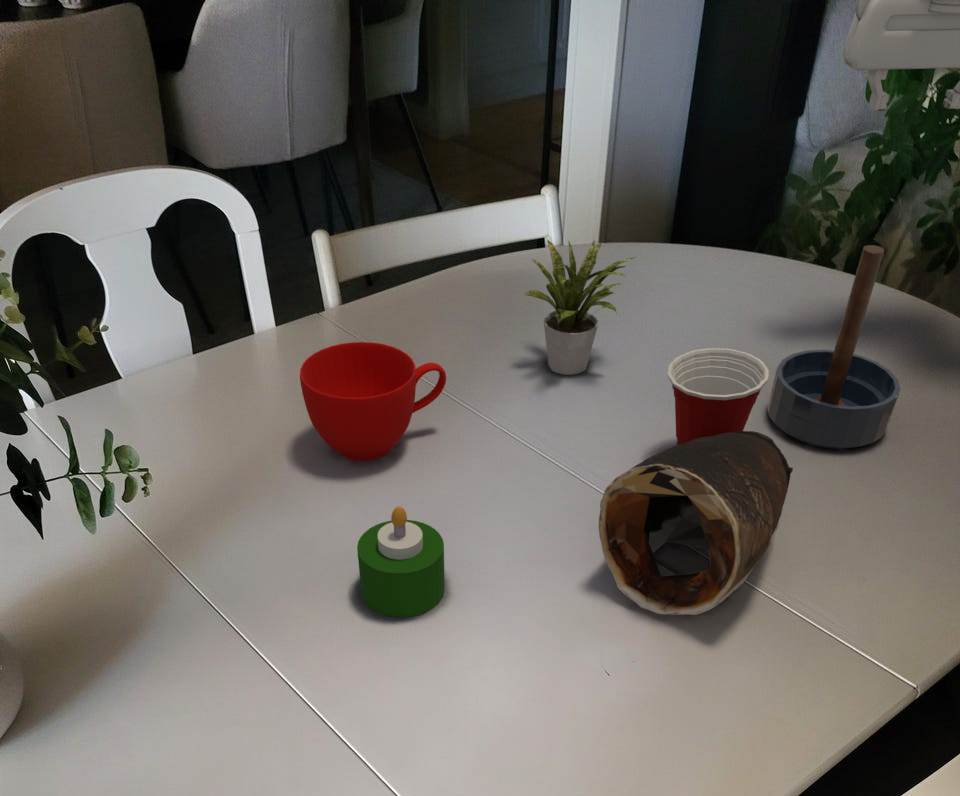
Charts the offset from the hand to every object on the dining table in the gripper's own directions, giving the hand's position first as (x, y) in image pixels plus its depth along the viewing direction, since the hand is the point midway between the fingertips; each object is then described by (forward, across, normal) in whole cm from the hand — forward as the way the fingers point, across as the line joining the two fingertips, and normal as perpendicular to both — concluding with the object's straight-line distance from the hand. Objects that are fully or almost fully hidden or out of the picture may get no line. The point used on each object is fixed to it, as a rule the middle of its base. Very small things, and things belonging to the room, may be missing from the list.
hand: (913, 108), depth 117 cm
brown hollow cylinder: (+29, -34, -45) cm, 64 cm away
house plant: (+29, -41, -6) cm, 51 cm away
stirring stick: (+28, -12, -22) cm, 38 cm away
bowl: (+29, -12, -22) cm, 38 cm away
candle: (+29, -66, -48) cm, 87 cm away
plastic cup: (+29, -30, -29) cm, 51 cm away
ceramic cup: (+29, -67, -21) cm, 76 cm away
